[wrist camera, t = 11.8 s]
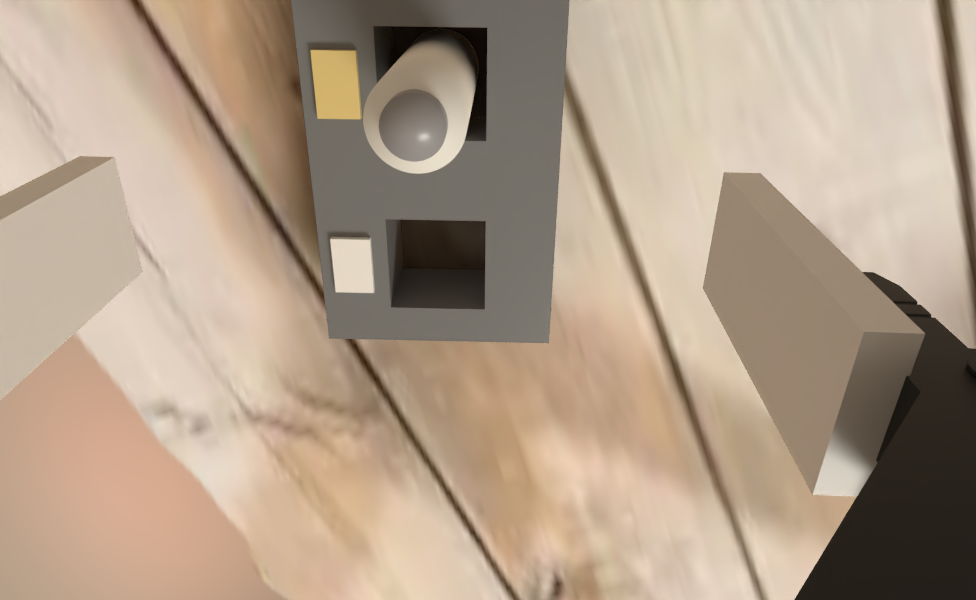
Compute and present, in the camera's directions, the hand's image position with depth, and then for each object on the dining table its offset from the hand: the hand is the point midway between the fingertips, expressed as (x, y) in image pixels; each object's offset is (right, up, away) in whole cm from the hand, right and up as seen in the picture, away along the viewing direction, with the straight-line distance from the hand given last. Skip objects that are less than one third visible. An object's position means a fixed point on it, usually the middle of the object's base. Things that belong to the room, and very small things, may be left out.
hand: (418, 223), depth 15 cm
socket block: (-1, +6, +23) cm, 24 cm away
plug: (-1, +10, +20) cm, 23 cm away
